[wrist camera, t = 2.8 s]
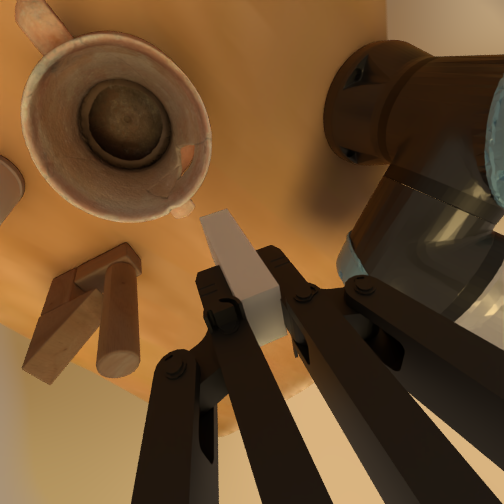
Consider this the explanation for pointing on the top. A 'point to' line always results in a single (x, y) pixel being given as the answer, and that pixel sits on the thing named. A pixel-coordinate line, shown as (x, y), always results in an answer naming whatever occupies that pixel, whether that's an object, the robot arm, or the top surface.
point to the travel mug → (9, 187)
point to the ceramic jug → (112, 121)
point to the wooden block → (90, 317)
